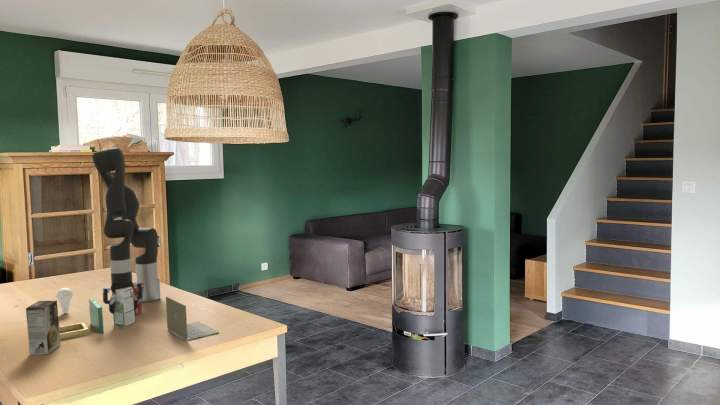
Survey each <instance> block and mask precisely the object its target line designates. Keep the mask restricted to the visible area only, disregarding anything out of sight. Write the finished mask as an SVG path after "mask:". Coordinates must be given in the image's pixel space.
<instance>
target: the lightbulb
mask: <svg viewBox="0 0 720 405" xmlns="http://www.w3.org/2000/svg"><path fill="white" fill-rule="evenodd" d="M73 296H74V295H73V290H71V288H69V287H61V288H59V289H58V290H57V292H56V293H55V297H56V301H57V302H59V304H60V308H61V312H62V313H63V314H68V313H69V312H70V303H71V299H72V298H73Z"/></svg>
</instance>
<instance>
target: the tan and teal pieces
mask: <svg viewBox="0 0 720 405" xmlns="http://www.w3.org/2000/svg"><path fill="white" fill-rule="evenodd" d="M88 304H89V317H90V318H89V319H90V320H89V321H90V325H91V327H93V329H94V330H95V331H96V332H97V333H98V334H99V335H102V334H104V316H103V306H102V305H101V304H99V303H98V302H97V301H96V300H95V299H94V298H90V299H88ZM89 330H90V329H89V327H88V326H87V325H86V323H84V322H77V323H72V324H66V325H61V326H60V325H59V333H60V341H61V340H65V339H71V338H77V337H81V336H87V335H90V331H89Z"/></svg>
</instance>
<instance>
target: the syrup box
mask: <svg viewBox="0 0 720 405" xmlns="http://www.w3.org/2000/svg"><path fill="white" fill-rule="evenodd" d="M129 289H130V290H129ZM117 291H118V292H117ZM130 291H131V292H132V293H133V288H132V287H127V288H121V289H117V290H116V292H117V299H116V300H115V301H114V303H113V304H114V314H112V316H113V317H112V318H113V325H115V326H123V327H124V326H128V325H129V326H130V325H131V324H133V323H135V322H136V317H135V314H134V299H133V298H132V297H131V294H130ZM114 295H115V294H114V293H113V292H112V291H111V296H114Z"/></svg>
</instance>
